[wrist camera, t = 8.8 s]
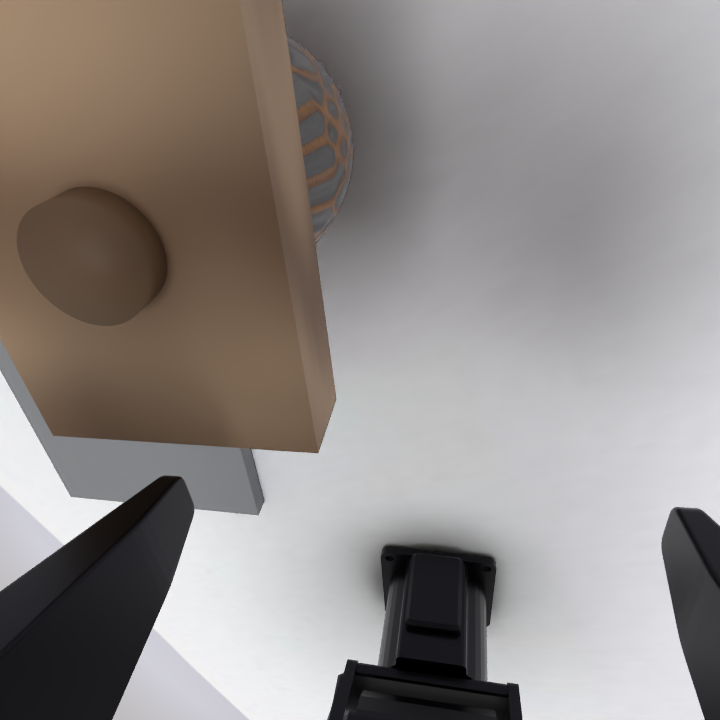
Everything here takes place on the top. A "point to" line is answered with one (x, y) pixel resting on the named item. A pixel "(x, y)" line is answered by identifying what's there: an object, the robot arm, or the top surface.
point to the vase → (321, 136)
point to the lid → (159, 224)
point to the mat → (142, 462)
